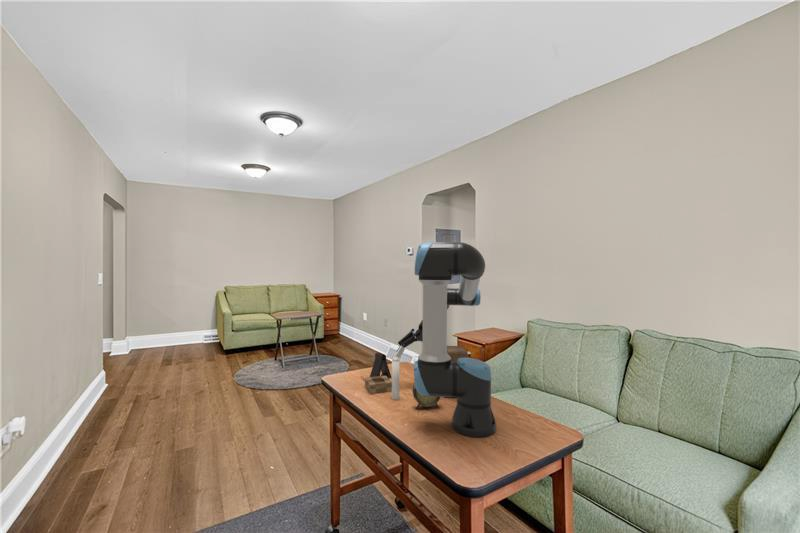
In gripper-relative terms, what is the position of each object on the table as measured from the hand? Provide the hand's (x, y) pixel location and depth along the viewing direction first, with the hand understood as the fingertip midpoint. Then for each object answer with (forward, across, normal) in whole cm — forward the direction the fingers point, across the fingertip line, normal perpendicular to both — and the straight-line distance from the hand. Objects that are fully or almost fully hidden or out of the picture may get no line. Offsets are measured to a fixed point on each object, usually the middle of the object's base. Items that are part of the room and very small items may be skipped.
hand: (406, 362), depth 157 cm
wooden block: (-1, -14, -21) cm, 25 cm away
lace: (+12, +25, -8) cm, 28 cm away
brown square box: (+13, +13, -6) cm, 19 cm away
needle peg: (+14, -1, -5) cm, 15 cm away
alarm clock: (+12, -16, -7) cm, 21 cm away
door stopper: (+6, +23, -14) cm, 28 cm away
